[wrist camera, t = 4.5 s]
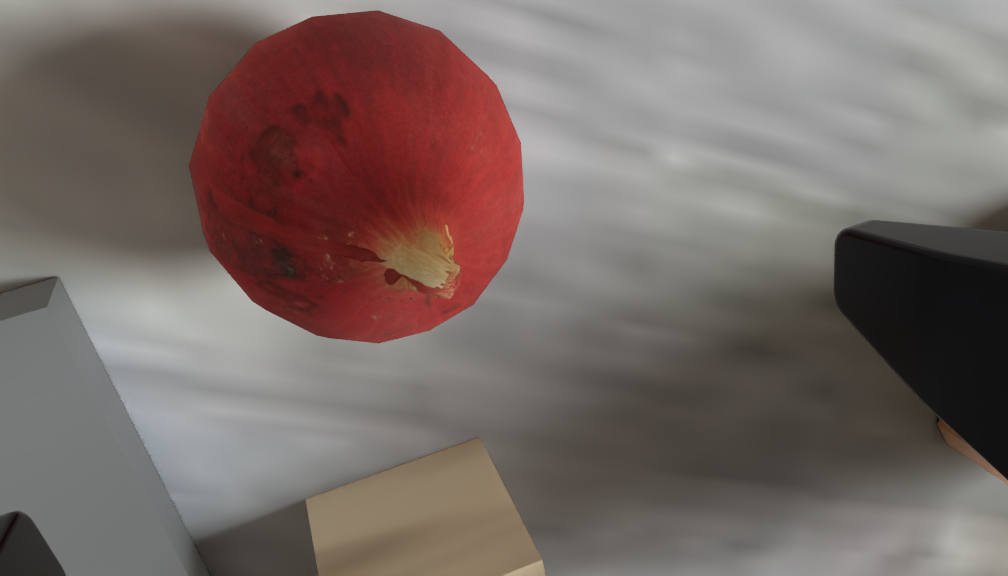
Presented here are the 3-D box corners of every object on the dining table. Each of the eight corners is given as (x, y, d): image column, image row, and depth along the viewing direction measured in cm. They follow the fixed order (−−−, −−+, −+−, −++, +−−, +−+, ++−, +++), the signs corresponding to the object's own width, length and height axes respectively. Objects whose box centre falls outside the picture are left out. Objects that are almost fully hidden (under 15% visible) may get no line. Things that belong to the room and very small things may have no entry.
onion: (224, 270, 18) (238, 491, 12) (165, 4, 16) (138, 86, 9) (469, 228, 20) (608, 401, 13) (452, -20, 17) (614, 35, 11)
